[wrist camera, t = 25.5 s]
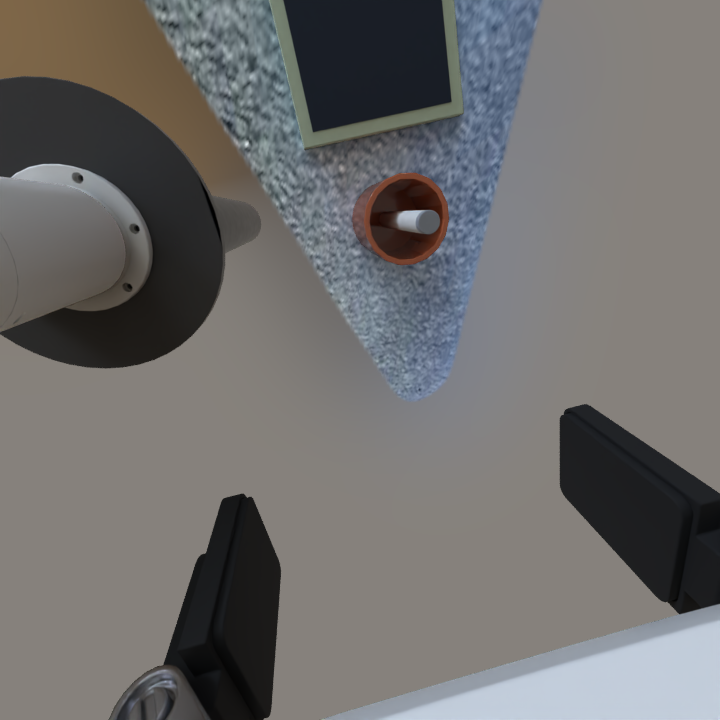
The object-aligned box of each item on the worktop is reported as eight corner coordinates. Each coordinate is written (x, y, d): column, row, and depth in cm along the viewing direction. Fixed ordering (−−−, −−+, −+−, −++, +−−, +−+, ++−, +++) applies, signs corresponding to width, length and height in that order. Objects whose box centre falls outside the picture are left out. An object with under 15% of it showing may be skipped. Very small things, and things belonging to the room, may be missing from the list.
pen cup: (360, 261, 36) (373, 273, 29) (345, 190, 34) (356, 183, 26) (423, 246, 36) (453, 254, 29) (413, 174, 34) (443, 163, 27)
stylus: (380, 229, 35) (419, 236, 23) (378, 213, 34) (416, 212, 22) (395, 225, 35) (441, 231, 23) (392, 210, 34) (438, 207, 22)
